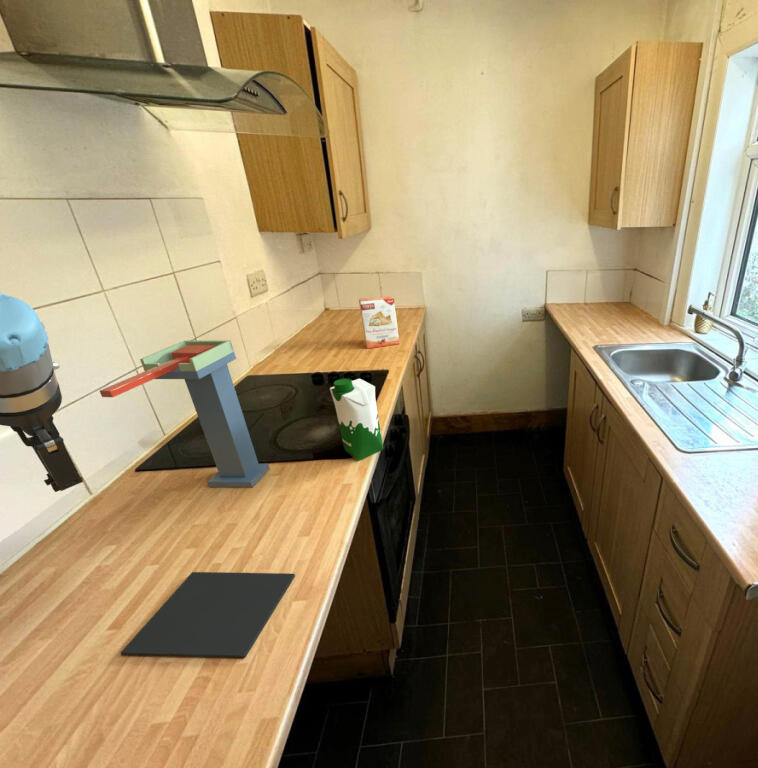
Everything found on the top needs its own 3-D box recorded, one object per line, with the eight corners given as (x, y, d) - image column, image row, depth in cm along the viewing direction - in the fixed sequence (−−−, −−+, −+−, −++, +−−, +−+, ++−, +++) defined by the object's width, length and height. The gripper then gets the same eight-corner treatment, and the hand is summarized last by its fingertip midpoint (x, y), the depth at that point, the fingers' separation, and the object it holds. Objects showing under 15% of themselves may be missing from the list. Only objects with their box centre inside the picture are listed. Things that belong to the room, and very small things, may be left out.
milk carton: (339, 451, 107) (324, 379, 98) (371, 437, 113) (359, 369, 104) (356, 464, 101) (341, 390, 93) (389, 449, 107) (377, 378, 99)
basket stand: (196, 499, 90) (139, 359, 77) (229, 468, 100) (184, 340, 87) (241, 499, 90) (192, 358, 76) (270, 469, 100) (230, 340, 87)
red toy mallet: (92, 396, 68) (86, 385, 67) (193, 353, 87) (190, 344, 86) (122, 398, 67) (117, 386, 67) (218, 354, 86) (215, 345, 85)
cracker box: (367, 349, 179) (359, 301, 171) (365, 345, 184) (357, 298, 176) (400, 344, 184) (394, 297, 176) (397, 340, 189) (391, 295, 181)
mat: (121, 655, 59) (119, 652, 59) (193, 574, 72) (192, 571, 72) (245, 658, 58) (243, 655, 58) (295, 576, 71) (294, 573, 71)
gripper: (109, 451, 55) (115, 500, 69) (3, 303, 56) (30, 380, 70) (28, 483, 49) (53, 529, 63) (-88, 318, 50) (-39, 398, 64)
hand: (41, 451), depth 66 cm, fingers open, 13 cm apart
